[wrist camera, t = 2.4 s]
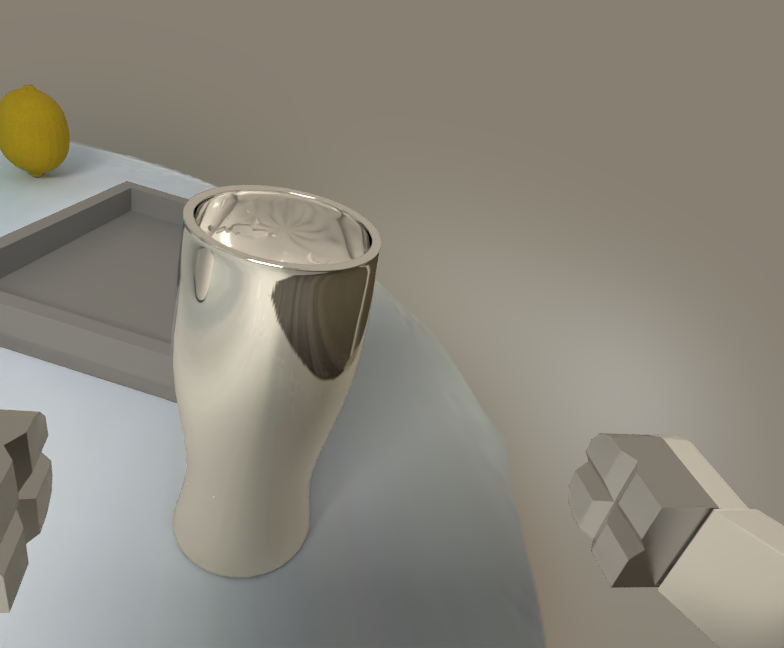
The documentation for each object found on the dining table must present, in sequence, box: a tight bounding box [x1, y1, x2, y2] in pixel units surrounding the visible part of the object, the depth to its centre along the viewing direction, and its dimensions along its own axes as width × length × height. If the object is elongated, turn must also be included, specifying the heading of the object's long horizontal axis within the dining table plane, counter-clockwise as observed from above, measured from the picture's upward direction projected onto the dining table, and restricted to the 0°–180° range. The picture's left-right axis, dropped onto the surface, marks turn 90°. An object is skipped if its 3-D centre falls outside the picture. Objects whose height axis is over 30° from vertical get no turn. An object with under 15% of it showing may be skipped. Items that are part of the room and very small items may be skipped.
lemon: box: [0, 85, 69, 177], centre depth 51 cm, size 6×6×8 cm
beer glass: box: [171, 185, 381, 578], centre depth 23 cm, size 7×7×15 cm
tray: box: [0, 181, 189, 402], centre depth 41 cm, size 18×20×3 cm
